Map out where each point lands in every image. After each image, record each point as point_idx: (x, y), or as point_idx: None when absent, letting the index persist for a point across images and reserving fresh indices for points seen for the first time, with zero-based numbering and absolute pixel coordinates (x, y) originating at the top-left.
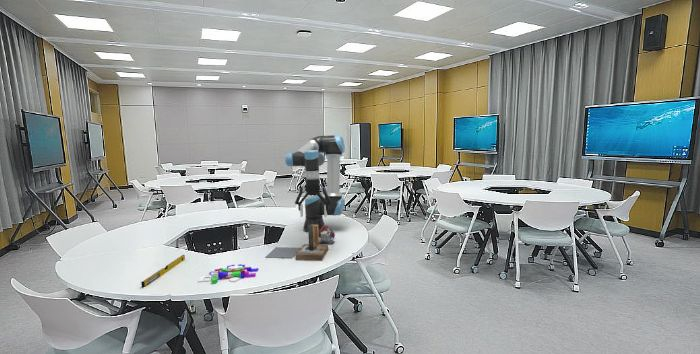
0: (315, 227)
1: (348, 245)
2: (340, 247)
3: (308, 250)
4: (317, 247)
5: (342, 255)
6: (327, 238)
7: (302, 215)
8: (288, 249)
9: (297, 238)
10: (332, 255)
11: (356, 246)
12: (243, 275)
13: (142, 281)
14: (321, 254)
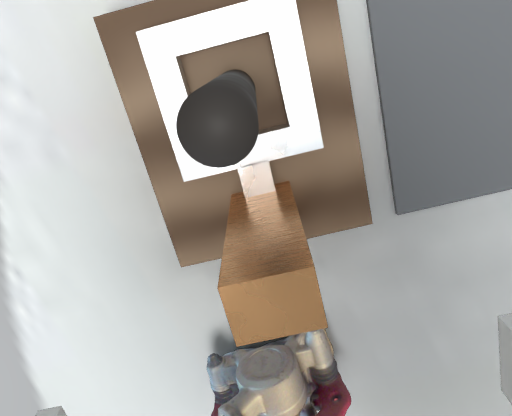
0: (240, 272)
1: (104, 358)
2: (133, 312)
3: (227, 25)
4: None
5: (32, 179)
6: (240, 362)
7: (509, 369)
8: (477, 153)
9: None
10: (98, 156)
11: (45, 356)
12: None
13: None
14: (104, 34)
